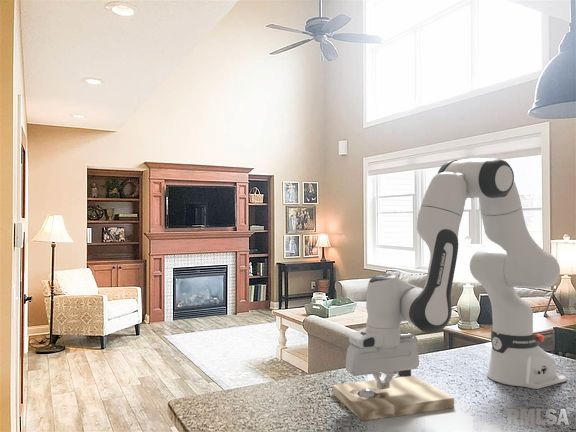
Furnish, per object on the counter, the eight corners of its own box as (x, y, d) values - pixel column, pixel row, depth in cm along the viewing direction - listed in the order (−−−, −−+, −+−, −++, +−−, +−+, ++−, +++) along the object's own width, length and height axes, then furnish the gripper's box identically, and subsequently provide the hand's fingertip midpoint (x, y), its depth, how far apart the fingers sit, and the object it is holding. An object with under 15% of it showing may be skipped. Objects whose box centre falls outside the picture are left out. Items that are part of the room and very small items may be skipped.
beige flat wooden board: (414, 384, 137) (414, 375, 137) (454, 407, 119) (454, 397, 119) (332, 394, 129) (332, 385, 129) (362, 420, 111) (362, 410, 111)
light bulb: (389, 373, 146) (389, 338, 146) (406, 370, 149) (406, 335, 149) (404, 379, 140) (404, 343, 140) (421, 376, 143) (421, 340, 143)
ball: (372, 395, 124) (366, 382, 124) (379, 401, 121) (373, 388, 120) (360, 403, 123) (354, 391, 123) (367, 410, 120) (360, 397, 119)
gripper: (410, 330, 130) (410, 380, 130) (343, 336, 123) (343, 388, 123) (423, 335, 124) (423, 388, 124) (353, 342, 117) (353, 397, 117)
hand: (383, 388), depth 123 cm, fingers closed
